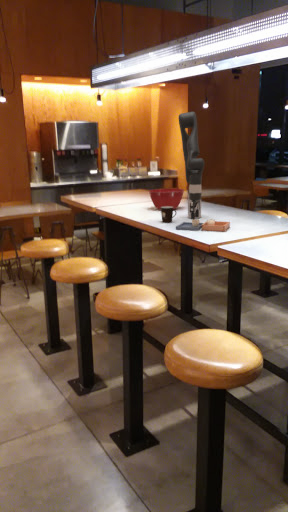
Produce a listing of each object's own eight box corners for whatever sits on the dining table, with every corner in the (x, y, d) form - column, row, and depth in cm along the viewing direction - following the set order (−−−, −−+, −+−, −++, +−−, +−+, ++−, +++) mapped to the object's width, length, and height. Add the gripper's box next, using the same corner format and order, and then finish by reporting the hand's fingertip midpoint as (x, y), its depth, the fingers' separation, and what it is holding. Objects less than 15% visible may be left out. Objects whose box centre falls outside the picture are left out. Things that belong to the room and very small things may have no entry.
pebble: (193, 226, 265) (193, 219, 264) (199, 226, 263) (200, 219, 262) (191, 227, 261) (191, 220, 260) (197, 227, 259) (198, 220, 258)
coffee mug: (158, 221, 287) (158, 206, 285) (170, 220, 290) (170, 205, 288) (165, 224, 277) (165, 209, 274) (177, 223, 280) (177, 208, 277)
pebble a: (208, 226, 261) (208, 219, 260) (215, 227, 259) (215, 219, 258) (206, 228, 257) (206, 220, 256) (213, 228, 255) (213, 221, 254)
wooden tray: (207, 226, 266) (207, 220, 265) (229, 227, 261) (229, 221, 260) (201, 230, 254) (201, 224, 253) (224, 231, 248) (224, 226, 248)
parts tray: (183, 224, 273) (183, 222, 273) (204, 225, 268) (204, 223, 267) (175, 229, 259) (175, 226, 259) (197, 230, 254) (197, 227, 253)
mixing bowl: (143, 208, 347) (142, 189, 343) (173, 205, 359) (173, 187, 355) (158, 213, 322) (158, 192, 318) (190, 209, 334) (190, 190, 330)
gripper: (192, 190, 264) (192, 216, 268) (185, 192, 252) (185, 219, 256) (204, 190, 261) (204, 216, 265) (197, 193, 249) (197, 220, 253)
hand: (195, 218), depth 260 cm, fingers open, 8 cm apart
